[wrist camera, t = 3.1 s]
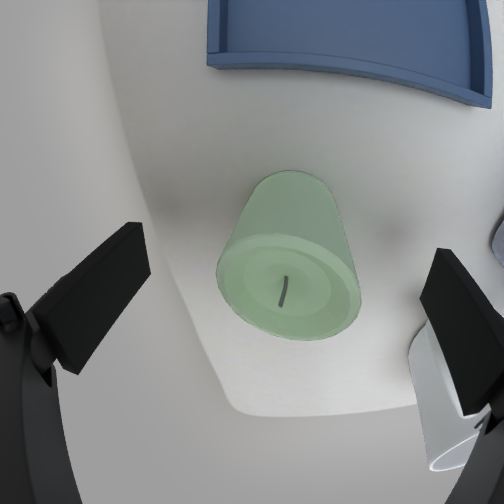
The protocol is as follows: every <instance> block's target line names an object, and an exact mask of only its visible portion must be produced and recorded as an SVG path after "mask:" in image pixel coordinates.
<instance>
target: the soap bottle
mask: <svg viewBox="0 0 504 504" xmlns="http://www.w3.org/2000/svg"><path fill="white" fill-rule="evenodd" d="M492 250H493V252H494V255H495V258H496V259H497V260H498V261H499V262H500V264H501V265H502V266H503V267H504V220H503V222H502V223H501V225H500V227H499V228H498V230H497V232H496V234H495V237H494V239H493V242H492Z"/></svg>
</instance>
